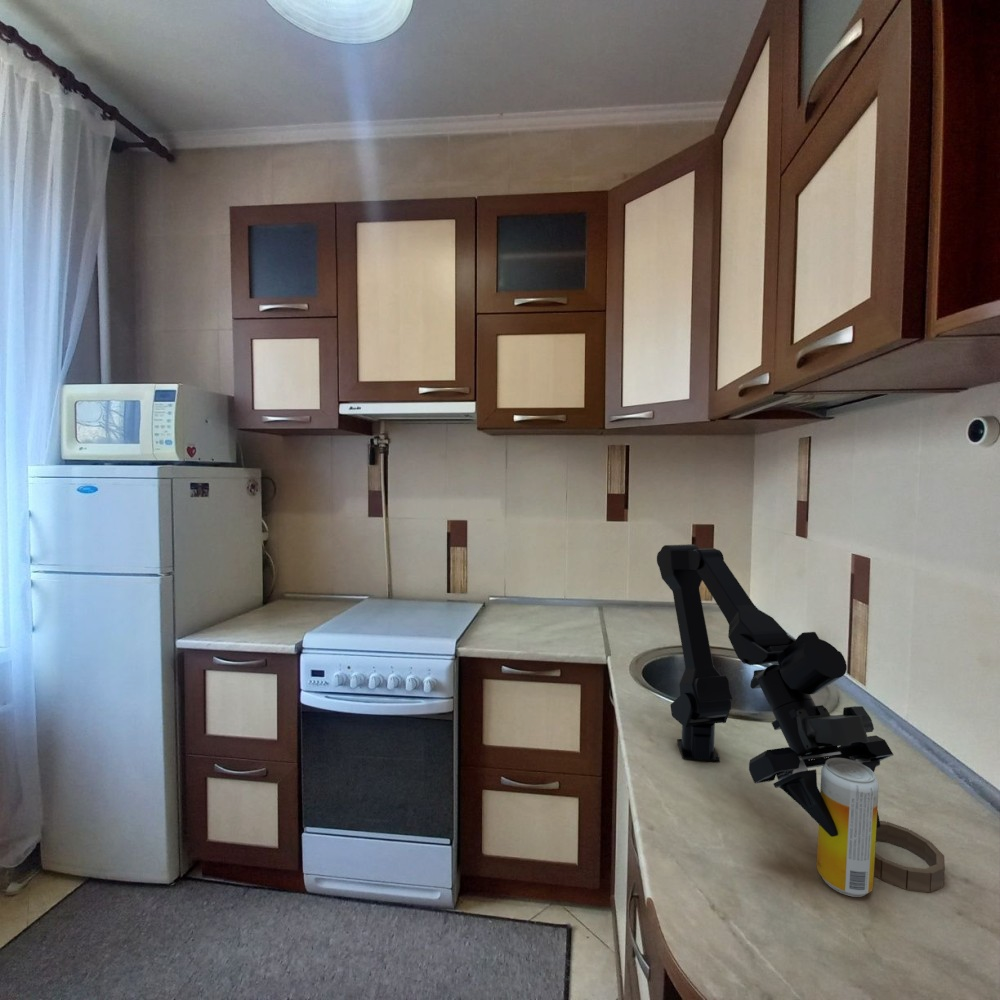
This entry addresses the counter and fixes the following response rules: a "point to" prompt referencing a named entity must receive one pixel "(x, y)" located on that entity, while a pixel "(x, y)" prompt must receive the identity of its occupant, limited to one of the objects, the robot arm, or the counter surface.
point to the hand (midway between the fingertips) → (856, 832)
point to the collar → (909, 876)
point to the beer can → (848, 827)
